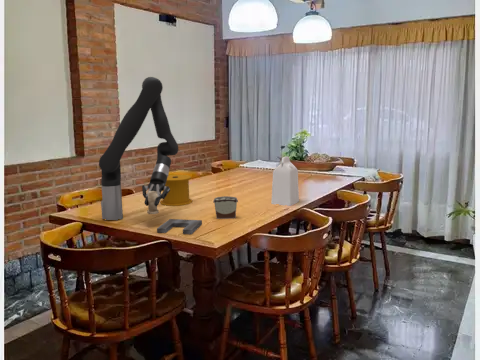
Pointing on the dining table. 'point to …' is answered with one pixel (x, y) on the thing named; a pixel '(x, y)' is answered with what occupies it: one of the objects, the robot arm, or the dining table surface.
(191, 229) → the notched board
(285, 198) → the milk
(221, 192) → the dining table surface
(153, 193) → the bobbin
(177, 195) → the spool
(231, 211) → the food container
